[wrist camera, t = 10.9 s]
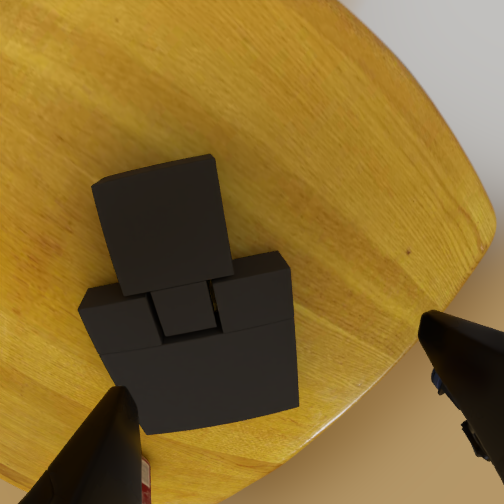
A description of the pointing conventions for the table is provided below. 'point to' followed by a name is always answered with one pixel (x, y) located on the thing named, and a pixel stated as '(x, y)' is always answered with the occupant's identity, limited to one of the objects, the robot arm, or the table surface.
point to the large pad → (203, 350)
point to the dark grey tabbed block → (168, 237)
